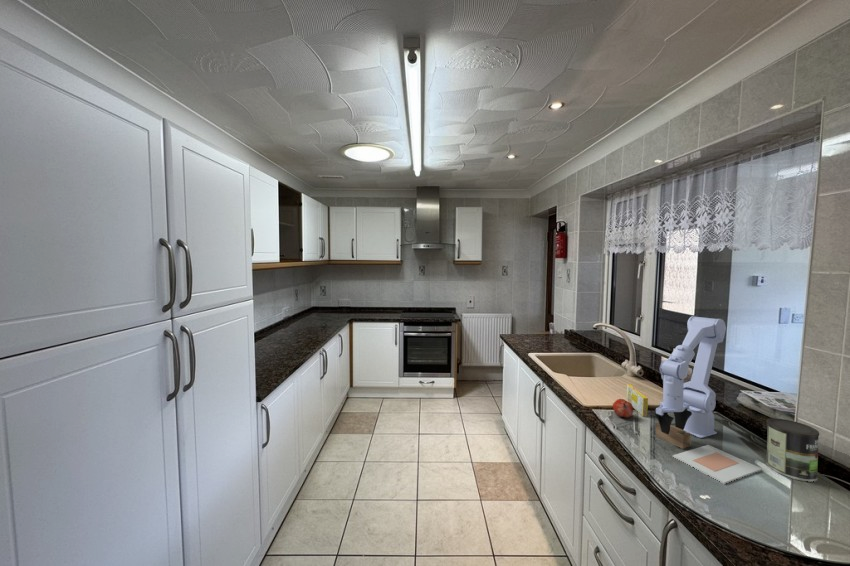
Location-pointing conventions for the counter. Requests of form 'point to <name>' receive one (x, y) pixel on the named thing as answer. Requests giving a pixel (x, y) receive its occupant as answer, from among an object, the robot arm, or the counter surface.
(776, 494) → the counter surface
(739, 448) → the counter surface
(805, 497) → the counter surface
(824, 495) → the counter surface
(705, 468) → the mat
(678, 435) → the walnut block
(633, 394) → the candy box
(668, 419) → the robot arm
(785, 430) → the coffee can
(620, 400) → the pomegranate
